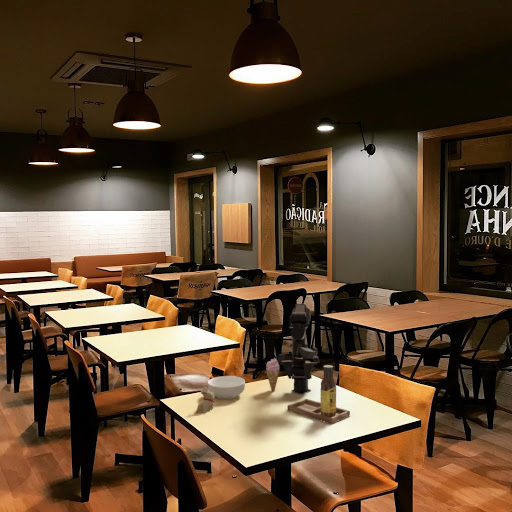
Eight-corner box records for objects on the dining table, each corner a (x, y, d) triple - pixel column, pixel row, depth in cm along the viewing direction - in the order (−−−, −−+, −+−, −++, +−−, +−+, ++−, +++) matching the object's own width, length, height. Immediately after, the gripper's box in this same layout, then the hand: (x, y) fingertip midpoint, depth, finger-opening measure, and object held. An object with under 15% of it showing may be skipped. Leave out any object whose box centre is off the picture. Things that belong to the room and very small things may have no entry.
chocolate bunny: (215, 411, 235) (214, 388, 235) (196, 412, 234) (195, 389, 233) (214, 407, 241) (213, 384, 240) (195, 408, 239) (195, 385, 239)
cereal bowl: (201, 395, 257) (200, 380, 256) (230, 388, 267) (230, 373, 266) (222, 405, 243) (221, 389, 243) (252, 397, 253) (252, 381, 253)
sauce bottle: (332, 418, 223) (332, 369, 221) (317, 416, 226) (317, 367, 225) (338, 413, 228) (338, 365, 227) (324, 411, 232) (324, 363, 230)
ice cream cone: (283, 390, 262) (282, 358, 261) (274, 393, 257) (273, 361, 256) (272, 387, 266) (271, 356, 265) (263, 390, 262) (263, 359, 261)
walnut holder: (306, 403, 244) (306, 398, 243) (349, 415, 227) (349, 411, 227) (287, 410, 235) (287, 405, 235) (331, 423, 219) (331, 418, 219)
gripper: (293, 339, 232) (293, 378, 228) (327, 342, 242) (327, 379, 238) (277, 341, 241) (276, 378, 237) (310, 343, 251) (310, 379, 247)
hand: (298, 379), depth 240 cm, fingers open, 9 cm apart
